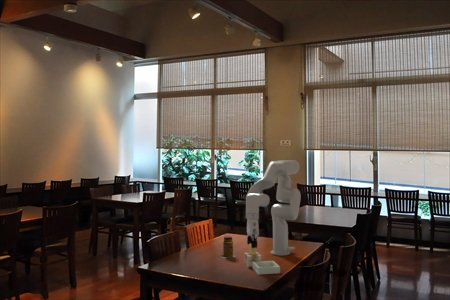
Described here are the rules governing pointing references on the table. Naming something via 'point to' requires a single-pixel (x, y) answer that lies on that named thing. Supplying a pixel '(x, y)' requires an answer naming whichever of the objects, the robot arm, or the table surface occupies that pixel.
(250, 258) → the socket block
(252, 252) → the dowel
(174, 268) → the table surface
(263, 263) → the tray
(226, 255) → the condiment
